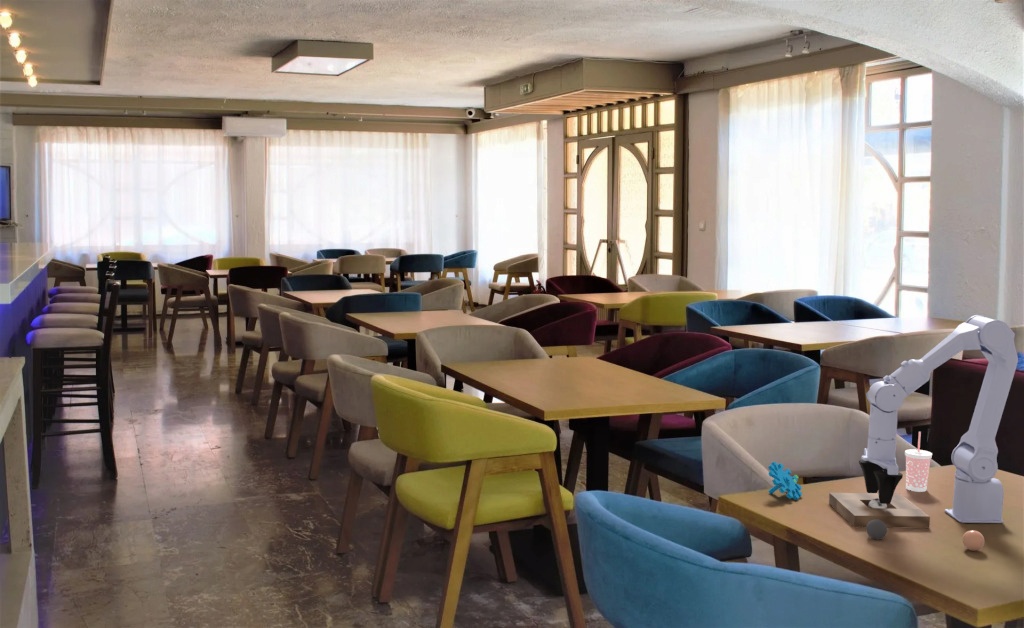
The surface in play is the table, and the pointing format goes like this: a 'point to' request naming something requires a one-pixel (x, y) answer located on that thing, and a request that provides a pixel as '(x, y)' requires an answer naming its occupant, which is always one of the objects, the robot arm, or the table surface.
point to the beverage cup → (917, 468)
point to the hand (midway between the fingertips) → (878, 497)
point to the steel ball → (876, 504)
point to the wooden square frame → (878, 510)
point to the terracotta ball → (973, 540)
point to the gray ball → (876, 529)
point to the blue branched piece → (784, 481)
